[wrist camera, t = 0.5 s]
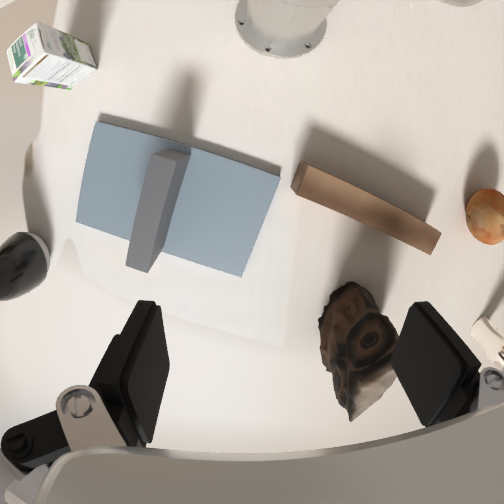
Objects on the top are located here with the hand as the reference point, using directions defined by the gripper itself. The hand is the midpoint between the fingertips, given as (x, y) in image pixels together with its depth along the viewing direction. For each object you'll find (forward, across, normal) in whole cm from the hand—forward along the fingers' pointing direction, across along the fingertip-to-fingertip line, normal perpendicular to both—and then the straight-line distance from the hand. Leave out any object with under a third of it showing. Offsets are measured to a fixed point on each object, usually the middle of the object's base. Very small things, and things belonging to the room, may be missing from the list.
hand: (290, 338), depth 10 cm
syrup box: (+33, +27, -20) cm, 47 cm away
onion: (+33, -41, 0) cm, 53 cm away
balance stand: (+33, +12, +2) cm, 35 cm away
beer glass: (+34, -57, +29) cm, 72 cm away
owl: (+34, -18, +22) cm, 44 cm away
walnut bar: (+33, -17, +2) cm, 38 cm away
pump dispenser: (+33, +40, +11) cm, 53 cm away
